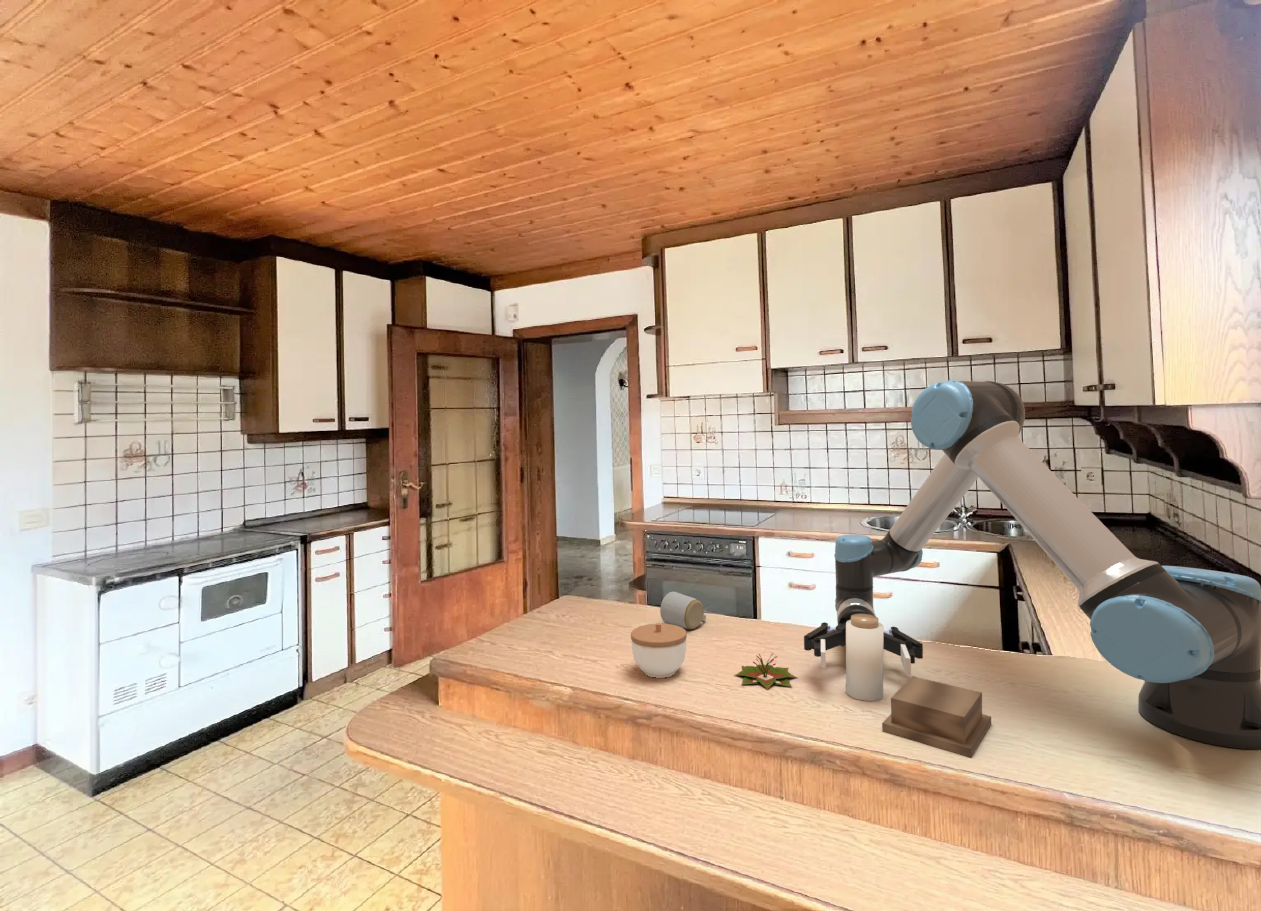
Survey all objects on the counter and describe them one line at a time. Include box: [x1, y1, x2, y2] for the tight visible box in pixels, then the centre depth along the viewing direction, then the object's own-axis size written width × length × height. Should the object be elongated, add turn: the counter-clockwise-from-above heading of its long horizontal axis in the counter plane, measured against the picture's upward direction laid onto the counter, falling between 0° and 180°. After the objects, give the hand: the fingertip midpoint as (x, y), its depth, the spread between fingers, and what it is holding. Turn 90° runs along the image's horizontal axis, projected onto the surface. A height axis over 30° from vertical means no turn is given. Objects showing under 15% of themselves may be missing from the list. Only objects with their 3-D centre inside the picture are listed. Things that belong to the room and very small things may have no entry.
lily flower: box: [734, 653, 798, 690], centre depth 113 cm, size 12×12×5 cm
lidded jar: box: [630, 622, 688, 679], centre depth 117 cm, size 11×11×9 cm
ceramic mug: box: [659, 591, 707, 630], centre depth 145 cm, size 11×8×8 cm
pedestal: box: [881, 676, 992, 758], centre depth 92 cm, size 12×12×5 cm
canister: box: [845, 614, 885, 702], centre depth 105 cm, size 6×6×13 cm
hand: (864, 663), depth 101 cm, fingers open, 12 cm apart
